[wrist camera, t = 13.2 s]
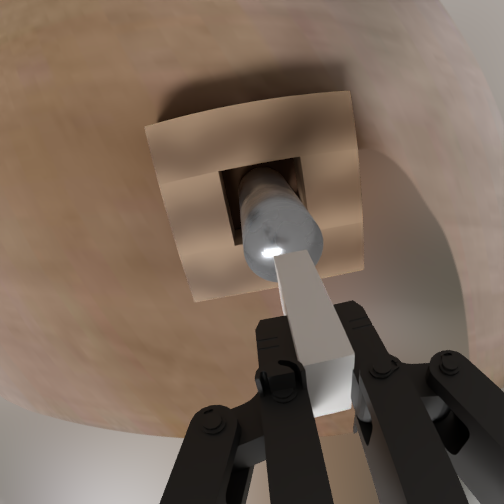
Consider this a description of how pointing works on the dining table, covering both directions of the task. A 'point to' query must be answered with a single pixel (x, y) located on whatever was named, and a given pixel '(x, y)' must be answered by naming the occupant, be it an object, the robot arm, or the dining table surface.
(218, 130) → the jig
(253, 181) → the grey metal peg
